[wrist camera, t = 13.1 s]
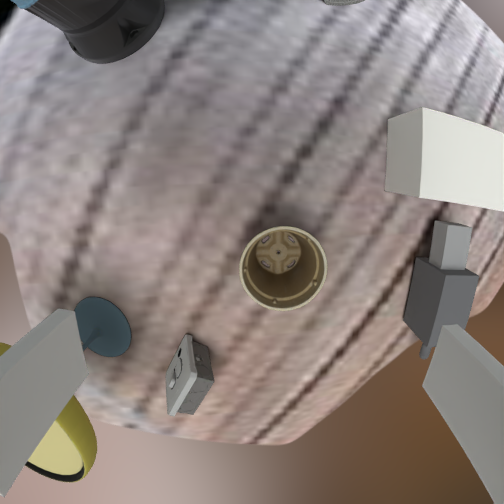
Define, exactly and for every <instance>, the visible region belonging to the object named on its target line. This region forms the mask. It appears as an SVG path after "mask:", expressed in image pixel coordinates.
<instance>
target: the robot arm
mask: <svg viewBox="0 0 504 504" xmlns="http://www.w3.org/2000/svg"><path fill="white" fill-rule="evenodd" d="M11 1H13V2H14V3H16V4H17V6H18V7H19V8H21V9H25V10H27V11H29V12H31V13H32V14H34V15H36V16H38V17H40V18H41V19H43V20H45V21H47V22H48V23H50V24H52V25H54V26H55V27H57V28H59V29H60V30H62V31H63V33H64V35H65V36H66V38H67V40H68V41H69V44H70V46H71V48H72V49H73V51H74V52H75V53H76V54H77V55H79V56H80V57H82V58H84V59H85V60H87V61H90V62H93V63H110V62H114V61H117V60H120V59H123V58H125V57H127V56H129V55H130V54H132V53H134V52H135V51H137V50H138V49H139V48H141V47H142V46H143V45H144V44H145V43H146V42H147V41H148V40H149V39H150V38H151V37H152V36H153V35H154V33H155V32H156V30H157V29H158V27H159V25H160V23H161V21H162V18H163V15H164V0H11ZM88 374H89V373H88V369H87V365H86V361H85V357H84V353H83V349H82V344H81V340H80V335H79V330H78V326H77V320H76V315H75V311H71V310H65V309H59V308H58V309H57V310H56V311H55V312H53V313H52V314H51V315H50V316H48V317H47V318H46V319H44V320H43V321H42V322H41V323H40V324H38V325H37V326H36V327H35V328H33V329H32V330H31V331H30V332H28V333H27V334H26V335H25V336H24V337H22V338H21V339H20V340H19V341H18V342H17V343H16V344H14V345H13V346H12V347H11V348H9V349H8V350H7V351H6V352H5V353H4V354H2V355H1V356H0V495H1V496H3V497H5V495H6V494H7V492H8V490H9V489H10V487H11V486H12V484H13V482H14V481H15V479H16V478H17V476H18V475H19V473H20V471H21V470H22V468H23V467H24V465H25V464H26V462H27V461H28V459H29V458H30V456H31V455H32V453H33V452H34V450H35V449H36V447H37V446H38V444H39V443H40V441H41V440H42V439H43V437H44V436H45V434H46V433H47V431H48V430H49V428H50V427H51V425H52V424H53V423H54V421H55V420H56V418H57V417H58V416H59V414H60V413H61V411H62V410H63V409H64V407H65V406H66V404H67V403H68V402H69V400H70V399H71V397H72V396H73V395H74V393H75V392H76V391H77V389H78V388H79V386H80V385H81V384H82V382H83V381H84V380H85V378H86V377H87V376H88ZM422 386H423V388H424V389H425V391H426V392H427V394H428V395H429V397H430V398H431V400H432V401H433V403H434V404H435V406H436V407H437V409H438V410H439V412H440V413H441V415H442V417H443V418H444V420H445V421H446V423H447V424H448V426H449V427H450V429H451V431H452V432H453V434H454V435H455V437H456V438H457V440H458V442H459V443H460V445H461V447H462V448H463V450H464V451H465V453H466V455H467V456H468V458H469V459H470V461H471V463H472V465H473V466H474V468H475V470H476V471H477V473H478V474H479V477H480V478H481V480H482V482H483V483H484V485H485V487H486V489H487V491H488V492H489V494H490V496H491V498H492V499H493V501H494V503H495V504H504V366H503V365H502V364H500V363H499V362H498V361H497V360H496V359H495V358H494V357H493V356H492V355H491V354H490V353H489V352H488V351H486V349H484V348H483V347H482V346H481V345H480V344H479V343H478V342H477V341H476V340H474V339H473V338H472V337H471V336H470V335H469V334H468V333H467V332H466V331H465V330H463V329H462V328H461V327H460V326H459V325H458V324H456V325H443V326H442V329H441V332H440V336H439V339H438V342H437V345H436V348H435V351H434V355H433V357H432V360H431V363H430V366H429V369H428V372H427V375H426V377H425V380H424V383H423V385H422Z"/></svg>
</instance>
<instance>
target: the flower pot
mask: <svg viewBox="0 0 504 504" xmlns="http://www.w3.org/2000/svg"><path fill="white" fill-rule="evenodd" d="M266 236H269V237H270V238H269V239H268V240H267V241H266V242H265V243H262V240H263V239H264V238H265V237H266ZM288 236H290V237H291V238H292V239H293V240H294V243H293V242H292V241H291V240H290V239H289V238H288ZM277 251H280V254H277ZM293 260H295V263H294V265H293V266H292V267H288V266H289V265H290V264H291V263H292V262H293ZM262 261H265V262H266V263H267V264H268V265H269V268H268V267H266V266H265V265H264V264H262ZM239 275H240V280H241V283H242V286H243V288H244V290H245V291H246V293H247V294H248V295H249V296H250V298H251V299H252V300H254V301H255V302H256V303H258V304H259V305H261V306H263V307H265V308H268V309H271V310H276V311H289V310H294V309H297V308H300V307H302V306H304V305H306V304H307V303H309V302H310V301H311V300H313V298H314V297H315V296H316V295H317V294H318V293H319V291H320V290H321V288H322V287H323V285H324V282H325V279H326V276H327V259H326V255H325V252H324V250H323V248H322V246H321V245H320V243H319V242H318V241H317V240H316V239H315V238H314V237H313V236H312V235H310V234H309V233H308V232H306V231H304V230H302V229H299V228H296V227H290V226H279V227H273V228H270V229H267V230H265V231H263V232H261V233H259V234H258V235H256V236H255V237H254V238H253V239H252V240H251V241H250V242H249V243H248V245H247V246H246V248H245V249H244V251H243V253H242V256H241V259H240V265H239Z"/></svg>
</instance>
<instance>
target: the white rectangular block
mask: <svg viewBox="0 0 504 504" xmlns="http://www.w3.org/2000/svg"><path fill="white" fill-rule="evenodd" d="M385 191H387V192H393V193H398V194H403V195H409V196H414V197H419V198H426V199H433V200H439V201H446V202H452V203H459V204H465V205H471V206H476V207H482V208H488V209H493V210H498V211H503V212H504V133H501V132H499V131H496V130H494V129H491V128H488V127H486V126H483V125H480V124H477V123H474V122H471V121H468V120H465V119H462V118H459V117H456V116H453V115H449V114H446V113H442V112H439V111H435V110H432V109H428V108H424V107H421V108H418V109H415V110H412V111H410V112H407V113H404V114H401V115H398V116H396V117H393V118H390V119H388V132H387V160H386V178H385Z"/></svg>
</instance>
